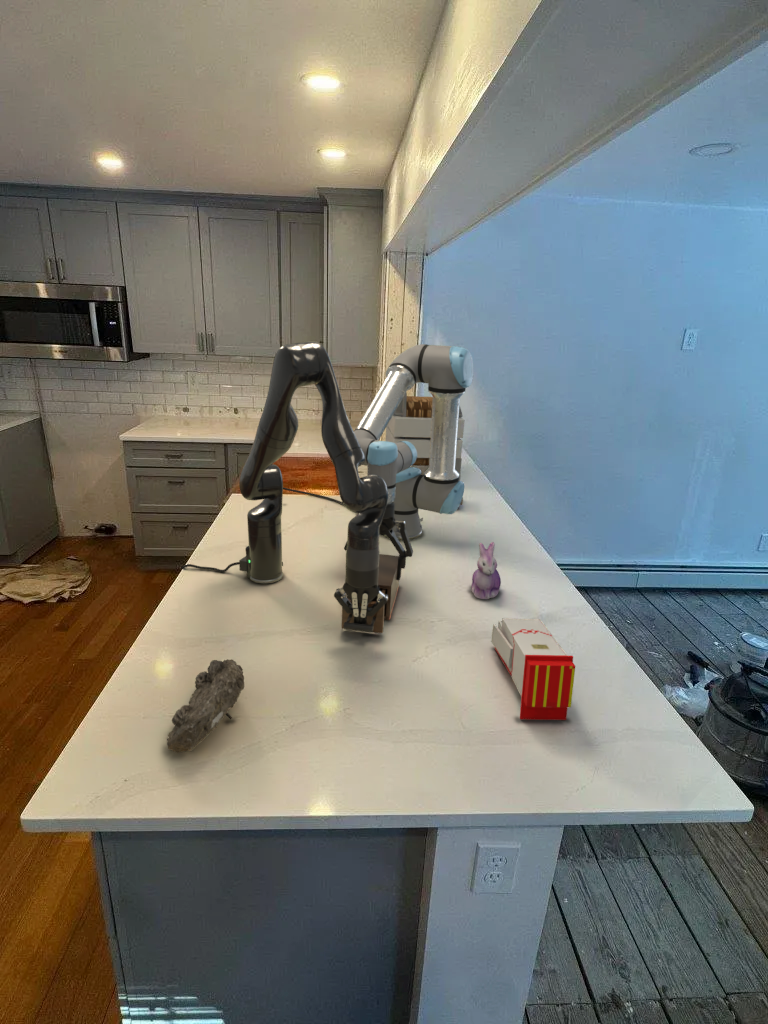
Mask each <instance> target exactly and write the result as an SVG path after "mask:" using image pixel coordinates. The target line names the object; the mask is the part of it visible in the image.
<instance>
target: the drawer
mask: <svg viewBox="0 0 768 1024" xmlns="http://www.w3.org/2000/svg"><path fill="white" fill-rule="evenodd" d="M380 591H381V592H382V593H383V594H387V589H382V588H380ZM377 597H378V596H376V597H375V598H374V599H373V600H372V602H371V603H369V604H368V608H371V607H372V606H373V605H374V604H375V603H376V602H377ZM348 600H349V601H350V602H351V604H352V601H351V600H350V599H349V597H348ZM386 605H387V603H386V604H385V605H384V606H383V607H382V608H381V609H379V610H378V611H377V612H376V613H375V614H374V615H373V616H367V623H366V624H358V623H354V616H353V614H351V613H350V614H348V613H346V611H345V610H344V609H343V607H342V606H341V629H342V630H343V629H344V630H348V631H356V632H366V633H376V634H383V633H384V625H385V622H384V621H385V620H384V613H385V610H386ZM361 606H362V604H361V603H360V608H361ZM360 613H361V610H360Z"/></svg>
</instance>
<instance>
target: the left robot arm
mask: <svg viewBox="0 0 768 1024" xmlns="http://www.w3.org/2000/svg"><path fill="white" fill-rule="evenodd" d="M311 385H314V386H315V388H316V389H317V391H318V393H319V395H320V398H321V403H322V404H321V405H322V412H321V413H322V414H321V425H320V426H321V428H320V429H321V430H320V432H321V440H322V443H323V445H324V449H326V452H327V454H328V456H329V459H330V461H331V462H332V465H333V468H334V471H335V477H336V478H335V479H336V483H337V488H338V493H339V498H340V501H341V502H343V504H344V505H343V506H344V507H345V508H346V509H347V510H348V511H349V512H352V513H353V514H356V515H355V516H353V517H352V518H351V519H350V521H348V524H347V540H346V542H347V550H345V571H344V572H345V575H344V576H345V577H344V579H345V580H344V583H343V586H342V587H341V588H336V590H335V592H334V594H333V597H334V598H335V600H336V601H337V602H338V604H339V605H340V606H341V608H342V607H343V609H344V610H345V611H346V613H348V614H350V613H351V614H353V616H354V623H358V624H366V623H367V616H373V615H374V614H375V613H376V612H377V611H378V610H379V609H381V608H382V607H383V606H384V605H385V604H386V603H387V600H388V595H387V594H383V593H382V592H381V591H380V587H379V585H378V575H379V562H380V558H379V554H380V535H379V528H380V525H381V522H382V519H383V516H384V512H385V509H386V506H387V501H388V489H387V485H386V483H385V481H384V480H383V479H382V478H381V477H380V476H378V475H368V476H367V475H365V476H362V477H360V474H359V468H360V467H361V466H363V465H362V464H363V463H364V461H365V455H364V453H363V450H362V448H361V446H360V444H359V442H358V440H357V438H356V436H355V433H354V429H353V426H352V425H351V423H350V420H349V417H348V415H347V412H346V408H345V404H344V400H343V398H342V394H341V391H340V388H339V383H338V380H337V377H336V375H335V371H334V367H333V364H332V361H331V358H330V355H329V354H328V352H327V350H326V348H325V346H323V344H322V343H320V342H319V341H316V340H307V341H300V342H293V343H288V344H284V345H282V346H280V347H279V348H278V349H277V350H276V353H275V355H274V358H273V363H272V368H271V374H270V380H269V385H268V390H267V395H266V399H265V402H264V406H263V410H262V413H261V415H260V417H259V418H260V419H259V422H258V425H257V429H256V432H255V436H254V439H253V443H252V445H251V449H250V451H249V454H248V456H247V458H246V461H245V462H244V465H243V467H242V469H241V471H240V475H239V483H238V484H239V491H240V494H241V496H242V497H243V498H244V499H245V500H248V501H261V500H262V501H261V502H260V503H259V504H257V505H256V506H254V507H253V508H251V509H250V510H249V511H248V512H247V515H246V516H247V518H246V519H247V538H248V542H247V543H248V545H247V546H245V556H244V557H242V558H241V559H239V560H238V561H236V562H233V563H230V564H228V566H226V568H224V569H220V568H217V567H212V566H211V567H210V566H200V565H195V564H191V563H188V564H187V565H186V564H184V565H182V566H181V567H180V570H184V569H185V568H188V567H189V568H194V569H199V570H209V571H215V572H218V573H226V572H227V571H229V569H230V568H231V567H234V566H237V565H238V566H239V571H241V572H245V573H246V578H247V579H249V580H250V581H252V582H253V583H256V584H263V585H264V584H273V583H276V582H278V581H280V580H281V579H282V578H283V575H284V573H283V567H284V561H283V541H282V540H283V537H282V533H283V532H282V516H283V499H284V498H283V497H284V496H283V495H284V489H283V487H284V478H283V474H282V471H281V468H280V467H279V466H278V465H277V464H275V463H276V462H277V461H278V460H279V459H281V458H282V457H283V456H284V455H286V453H287V452H288V451H289V450H290V449H291V447H292V446H293V443H294V442H295V438H296V436H297V433H298V430H299V418H298V415H297V413H296V411H295V409H294V407H293V405H292V400H293V396H294V394H295V392H296V390H297V389H299V388H301V387H306V386H307V387H308V386H311ZM347 596H348V597H349V599H350V600H351V601H352V604H351V602H350V601H349V600H348V598H347ZM376 596H378V597H377V602H376V603H375V604H374V605H373V606H372V607H371V608H368V604H369V603H371V602H372V600H373V599H374V598H375V597H376ZM360 603H361V604H362V606H361V608H360ZM360 610H361V613H360Z"/></svg>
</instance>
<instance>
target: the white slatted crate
mask: <svg viewBox="0 0 768 1024" xmlns="http://www.w3.org/2000/svg"><path fill="white" fill-rule="evenodd" d="M407 394H408V393H407V392H406V393H405V395H404V397H403V399H402V400H401V402H400V404H399V406H398V407H397V409H396V411H395V413H394V415H393V416H392V418H391V420H390V422H389V423H388V425H387V427H386V429H385V438H384V441H388V442H393V443H397V442H400V441H408V442H410V443H411V444H413V445H414V447H415V448H416V451H417V459H416V461H415V463H414V464H413V465H412V466H411V467H417V466H418V467H429V457H430V438H431V419H432V399H433V396H415V395H414V396H413V395H412V396H411V395H407ZM464 429H465V419H464V418H463V411H462V408H461V405H459V419H458V433H457V447H456V461H455V470H456V471H457V472H458V473H459V481H461V472H462V461H463V460H462V453H463V442H464V441H463V440H462V439H463V438H464V431H465V430H464Z"/></svg>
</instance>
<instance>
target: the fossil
mask: <svg viewBox="0 0 768 1024" xmlns="http://www.w3.org/2000/svg"><path fill="white" fill-rule="evenodd" d="M243 670H244V669H243V667H242V665H240V664H237V662H236V661H235V660H234V659H232V658H231V659H227V658H226V659H224V660H223V661H222V660H217V659H212V660H211V661H210V663H209V665H208V666H207V671H201V672H199V673H198V674H197V675H196V676H195V680H194V684H195V685H194V687H195V689H194V690H193V693H192V694H191V697H190V698H189V700H188V704H184V705H182V706H181V707H180V709H177V710H176V711H175V713H174V715H173V716H172V718H171V723H172V724H173V727H172V730H171V731H170V732H168V734H167V738H166V741H167V742H166V745H167V749H168V750H169V751H173V752H174V753H176V754H178V753H182V752H188V751H189V752H192V751H193V750H195V748H196V747H197V746H199V744H200V743H201V742H203V741H204V740H205V739H206V738H207V737H208V736H209V735H210V734H211V733H212V732H214V730H215V729H217V727H218V726H219V724H220V722H221V721H222V720H223V719H224V718H225V716H226V717H227V719H229V720H233V717H232V715H230V714H229V710H230V709H231V708H234V706H235V704H236V703H237V702H238V699H239V697H240V695H241V693H242V691H243V690H245V689H244V688H245V675H244V671H243Z"/></svg>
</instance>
